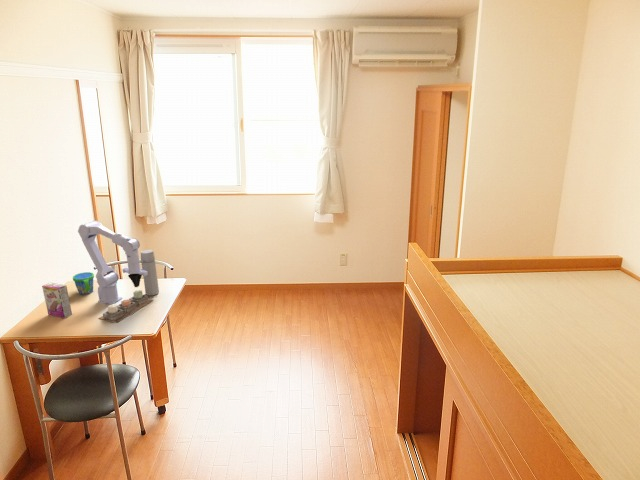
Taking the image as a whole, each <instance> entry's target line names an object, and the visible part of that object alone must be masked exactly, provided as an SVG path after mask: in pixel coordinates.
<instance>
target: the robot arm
mask: <svg viewBox="0 0 640 480" xmlns="http://www.w3.org/2000/svg"><path fill="white" fill-rule="evenodd" d="M77 233H78V234H79V236H80V238H81V241H82V243H83V245H84V247H85V249H86V251H87V253H88V255H89V257H90V258H91V260H92V263H93V264H94V266H95V268H96V271H97V273H96V275H95V278H96V283H97V285H98V287H97V294H98V300H97V301H98V303H104V304H109V305H113V304H116V302H118V301H120V300H123V297H121V296H119V293H118V288H117V287H118V286H117V284H118V281H119V279H120V278H119V274H118V273H117V272H116V271H115V269H114V268H113V267H110V266H109V265H108V264H107V263H108V262H107V261H106V260H105V258H104V255H103V254H102V252H101V250H100V247H99V245H98V244H97V242H96V237H97V236H98V235H101V236H102V237H105V238H108V239H110V240H111V241H112V242H111V243H113V244H115V245H116V246H119V247H121V248H122V250H123V251H124V252H125V256H126V261H127V267H124V268H122V273H123V274H124V273H127V274H128V276H127V277H128V278H129V279H130V280H131V282H132V284H133V286H134V288H139V287H140V282H141V278H142V276H143V275H144V276H146V275H148V272H147V271H145V270H142V268H141V263H140V256H139V248H140V245H141V244H140V242H139V240H138V239H137V238H134V237H133V238H132V237H131V238H130V237H128V236H126V235H124V234H123V233H121V232H116V233H115V232H114V231H112V230H110V229H109V228H107V227H105V226H104V225H103V223H102V222H99V221H98V220H92V221H90V222H88V223H84V224H81V225H79V227H78V230H77Z"/></svg>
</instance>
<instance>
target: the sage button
mask: <svg viewBox="0 0 640 480" xmlns="http://www.w3.org/2000/svg"><path fill="white" fill-rule="evenodd" d="M143 295H144V294H143V290H134V291H133V296H134V299H136V300H140V299H142V298H143Z"/></svg>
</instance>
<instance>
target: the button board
mask: <svg viewBox="0 0 640 480" xmlns="http://www.w3.org/2000/svg"><path fill="white" fill-rule="evenodd" d="M128 300H130V301H131V305H130V306H128V307H123V306H122V304H121V303H119V304H116V305H117V307H118V313H116V314H114V315H111V314H109V313H108V310H107V311H105V312H104V313H102V315H101V316H99V317H98V320H101V321H106V322H107V321H108V322H112V323H116V324H117V323H120V322H122V321H123V320H125V319H126V318H128V317H129V316H131V315H132V314H134V313H136V312H138V311H139V310H141V309H142V308H144V307H146V306H148V305H149V304H151V303H153V302H154V300H153V299H149V295H147V294H146V295H145V294H143V298H142V299H140V300H136V299H134V295H133V296H132V297H130V298H128Z"/></svg>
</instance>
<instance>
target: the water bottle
mask: <svg viewBox="0 0 640 480" xmlns="http://www.w3.org/2000/svg"><path fill="white" fill-rule="evenodd" d="M139 261H140V262H141V263H140V264H141V269H142V270H145V271H147V272H148V275H146V276H144V275H142V276H143V277H142V278H143V284H144V292H145V294H146V295H147V296H155V295H158V294H159V292H160V287H159V281H158V273H157V272H158V271H157V266H156V265H157V264H156V257H155V251H154V250H153V249H144V250H141V251H140V259H139Z"/></svg>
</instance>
